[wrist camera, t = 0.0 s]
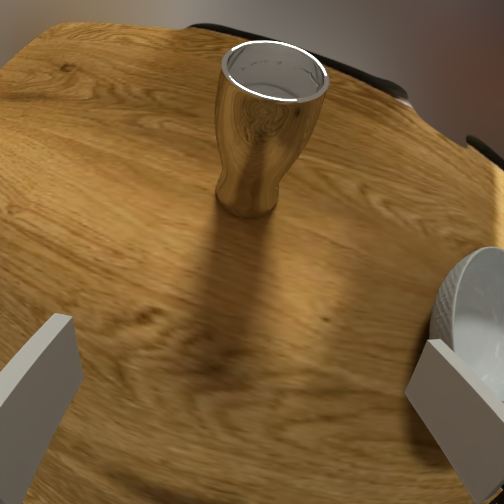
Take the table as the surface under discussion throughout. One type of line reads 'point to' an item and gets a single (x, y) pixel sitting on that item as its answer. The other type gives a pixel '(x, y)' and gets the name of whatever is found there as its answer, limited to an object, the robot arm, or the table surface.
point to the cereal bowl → (474, 315)
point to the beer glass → (263, 120)
